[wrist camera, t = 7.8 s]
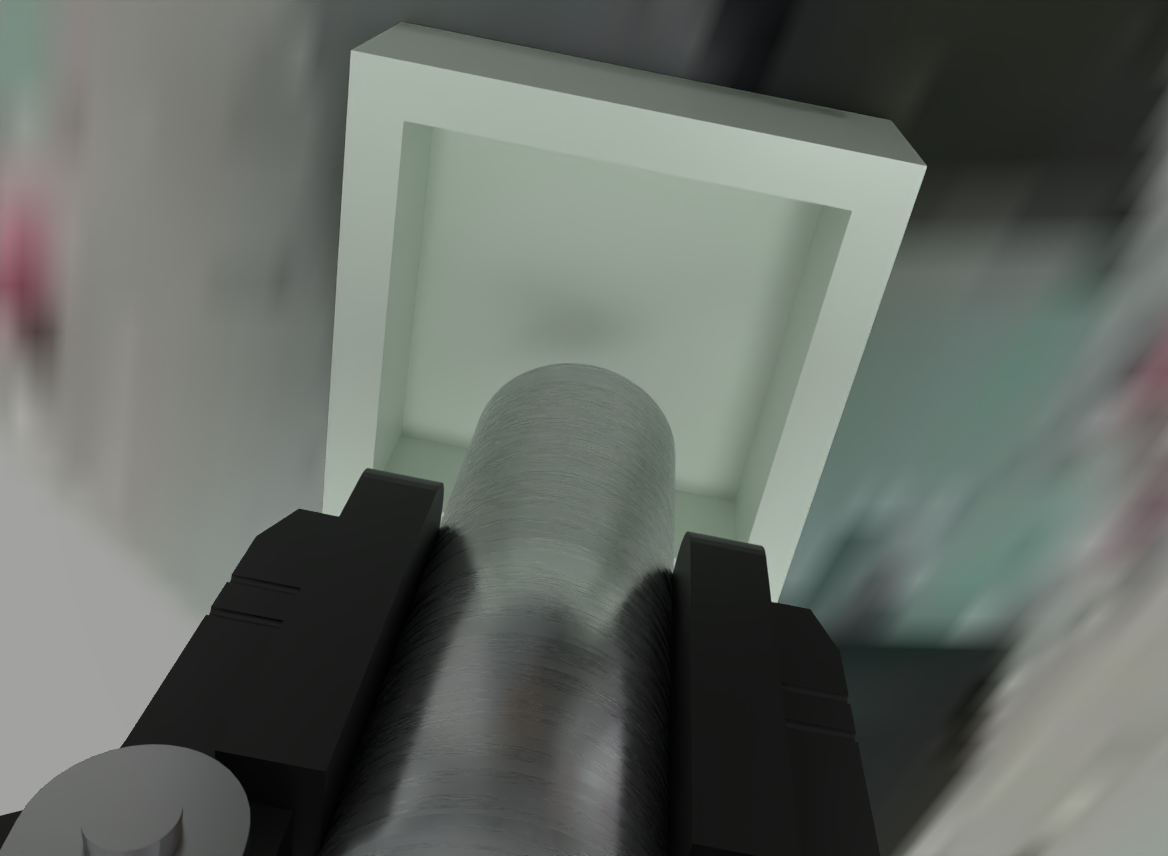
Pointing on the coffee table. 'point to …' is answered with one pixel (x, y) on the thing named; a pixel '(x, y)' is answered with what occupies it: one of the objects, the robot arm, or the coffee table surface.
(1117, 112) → the coffee table surface
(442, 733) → the pin
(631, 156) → the tray
